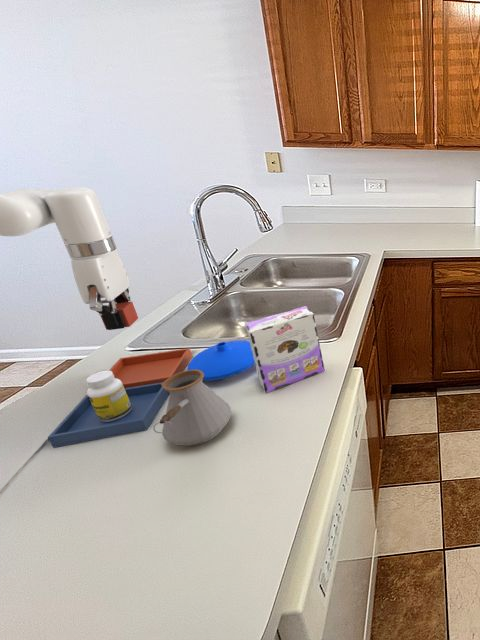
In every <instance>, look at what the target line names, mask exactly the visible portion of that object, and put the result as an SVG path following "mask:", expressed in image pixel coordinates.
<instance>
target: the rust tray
mask: <svg viewBox="0 0 480 640" xmlns="http://www.w3.org/2000/svg"><path fill="white" fill-rule="evenodd" d="M192 359H193V353H192V350H191V348H190V347H188V348H181V349H174V350H168V351H159V352H152V353H147V354H138V355H132V356H125V357H120V358H119V359H118V360H117V361H116V362H115V363H114V364H113V365H112V366H111V367H110V369H109V371H112V372H113V375H114V377H115V378H116V379H119V380H121V382H122V384H123V386H124V389H125V388H131V387H137V386H143V385H149V384H155V383H162V382H164V381H165V380H167V379H168V378H170V377H171V376H173V375H175V374H177V373H180V372H183V371H185V370H186V368H187V367H188V365H189V363H190V362H191V360H192Z"/></svg>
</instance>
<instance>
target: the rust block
mask: <svg viewBox="0 0 480 640" xmlns="http://www.w3.org/2000/svg"><path fill="white" fill-rule="evenodd" d="M115 305H116V309H117V312H118V311H120V313H121V316H122V318H123V321H124V323H125V327H124V328H130V327H131V326H133V324H134V323H135V322H136V321H137V320H138V319H139V316H138V313H137V311H136V308H135V306H134V302H133V301H128V302H123V303H115ZM107 306H109V304H107ZM109 307H110V306H109ZM99 316H100V318H101V321H102V323H103V325H104V328H105V330H106V331H109V330H108V329H107V328H106V325H105V323H104V321H103V318H102V316H101V315H99Z"/></svg>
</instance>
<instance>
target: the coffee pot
mask: <svg viewBox="0 0 480 640" xmlns="http://www.w3.org/2000/svg"><path fill="white" fill-rule="evenodd" d="M203 377H204V373H203V372H202V371H201V370H196V369H195V370H186V369H185V370H184V371H183V372H180V373H177V374H175V375H173V376H171V377H170V378H168V379H167V380H165V381H164V382H163V383H162V384H161V386H162V387H163V388H164V389H165V390H167V391H169V392H170V393H169V398H168V402H167V408H166V412H165V414H163V415H162V416H161V418H160V420H159V422H157V423H156V424H155V425H154V426H153V431H154V433H157V434H161V435H162V437H163V439H164V440H165V441H167V442H169V443H170V444H172V445H175V446H181V447H183V446H185V447H192V446H199V445H201V444H204V443H207V442H208V441H211V440H212V439H214V438H215V437H217V436H218V435H219V434H220V433H221V431H222V430H223V429H224V428H225V427H226V425H227V424H228V423H229V420H230V419H231V415H232V407H231V406H230V405H229V404H228V402H226V401H225V400H224V399H223V398H222V397H220V396H219V395H218V394H217V393H216V392H214V390H212V389H211V388H210V387H209V386H208V385H207V384H206V383H204V382H203V380H202V379H203ZM157 425H162V431H157V430H156V429H155V428H156V426H157Z"/></svg>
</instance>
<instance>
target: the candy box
mask: <svg viewBox="0 0 480 640" xmlns="http://www.w3.org/2000/svg"><path fill="white" fill-rule="evenodd" d="M244 326H245V330H246V334H247V338H248V341H249V342H250V346H251V349H252V353H253V357H254V361H255V364H254V365H255V369H256V372H257V376H258V380H259V384H260V385H261V387H262V390H263V392H264V394H268V393H271V392H274V391H277V390H278V389H281V388H284V387H286V386H288V385H291V384H294V383H298V382H299V381H301V380H304V379H306V378H309V377H311V376H314V375H316V374H320V373H322V372H324V371H325V364H324V359H323V355H322V349H321V345H320V339H319V335H318V328H317V324H316V319H315V314H314V312H312V311H311V309H310V308H309V307H308V306H307V305H303V306H301V307H297V308H294V309H291V310H287V311H283V312H280V313H276V314H272V315H268V316H265V317H263V318H259V319H255V320H252V321H251V320H250V321H247V322H244Z"/></svg>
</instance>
